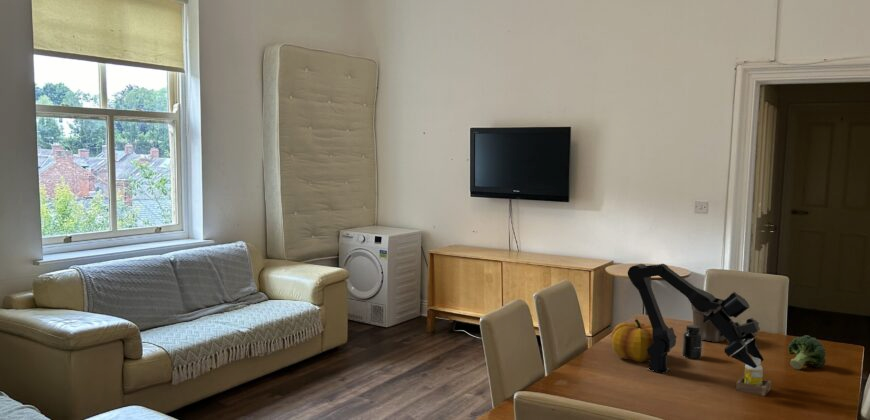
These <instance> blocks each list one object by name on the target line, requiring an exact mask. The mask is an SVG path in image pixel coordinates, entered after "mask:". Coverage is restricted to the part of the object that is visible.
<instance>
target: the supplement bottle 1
mask: <svg viewBox="0 0 870 420" xmlns="http://www.w3.org/2000/svg"><path fill="white" fill-rule="evenodd" d="M699 332H700V327H699V326H695V325H694V324H693V325H692V324H688V325H686V329H685V332H684V333H683V335H682V336H683V337H682V356H683V357H684V356H685V357H684V358H686V357H688V358H687V359H690V358H693V359H692V360H698V358H699V359H701V358H702V348H703V346H702V345H703V341H702V335H701V334H700V333H699Z"/></svg>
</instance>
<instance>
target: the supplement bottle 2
mask: <svg viewBox="0 0 870 420" xmlns="http://www.w3.org/2000/svg"><path fill="white" fill-rule="evenodd" d="M751 358H752V359H753V361H754V362H755V364H756V365H757V367H756V368H753V367H751V366H749V365H747V364H745V365H744V376H745V378H744V383H747V384H751V385H756V386H761V387H762V379H763V372H764V369H763V366H762V365H761V364H762V362H761V359H759V358H755V357H753V356H751Z"/></svg>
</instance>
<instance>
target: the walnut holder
mask: <svg viewBox="0 0 870 420" xmlns="http://www.w3.org/2000/svg"><path fill="white" fill-rule="evenodd" d="M744 378H745V375H742V377H740V378H739V379H738V380H737V381H736V385H735V386H736V388H735V391H736V392H741V393H747V394H752V395H756V396H761V397H766V395H768V393H769V392H770V391H771V389H772V381H771V380H767V379H763V378H762V387H761V386H756V385H751V384H747V383H744Z"/></svg>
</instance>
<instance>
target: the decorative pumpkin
mask: <svg viewBox="0 0 870 420" xmlns="http://www.w3.org/2000/svg"><path fill="white" fill-rule="evenodd" d="M653 344H654V343H653V337H652V325H651V323H650V324H645V323H643V322H640V321H639V320H638V318H636V319H634V322H633V323H628V322H620V323H618V324H617V325H615V327H614V329H613V330H612V332H611V345H612V346H611V347H612V348H613V350H614V352H615V354H616V355H617V356H618V357H619V358H622V359H624V358H626V359H625V360H633V361H634V360H635V361H634V362H637V361H638V362H637V363H642V362H641V361H643V362H646V360H650V355H649V354H648V351H647V349H648V348H649V347H650V346H651V345H653Z"/></svg>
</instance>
